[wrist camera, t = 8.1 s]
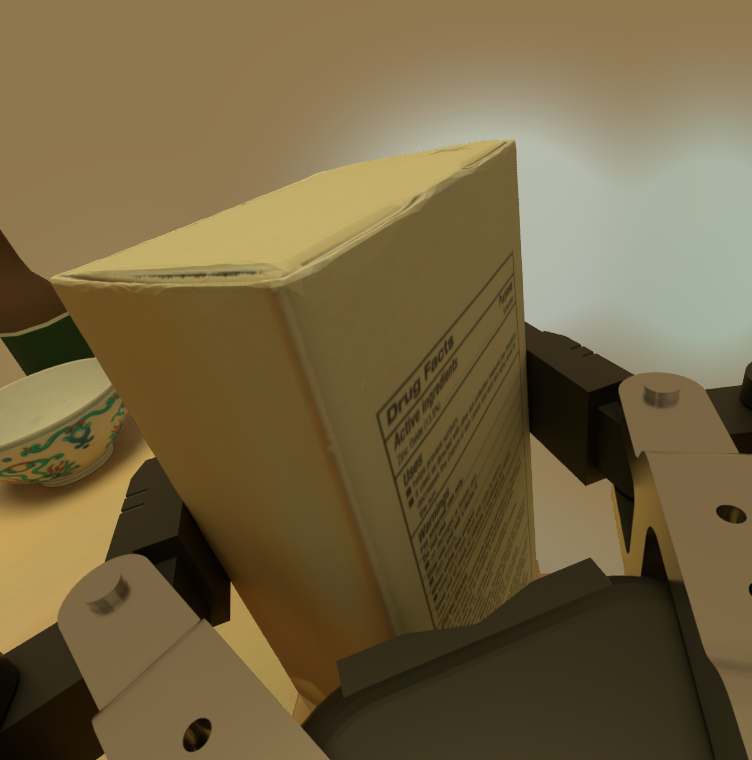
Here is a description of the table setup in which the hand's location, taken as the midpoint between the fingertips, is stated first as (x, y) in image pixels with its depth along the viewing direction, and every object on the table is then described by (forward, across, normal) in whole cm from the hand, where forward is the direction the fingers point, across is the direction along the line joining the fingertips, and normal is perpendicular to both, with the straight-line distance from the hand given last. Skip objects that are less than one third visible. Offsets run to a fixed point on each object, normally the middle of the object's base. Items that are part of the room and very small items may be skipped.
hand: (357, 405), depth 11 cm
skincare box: (-2, 0, +7) cm, 8 cm away
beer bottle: (+49, +29, +17) cm, 60 cm away
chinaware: (+33, +25, +17) cm, 45 cm away
